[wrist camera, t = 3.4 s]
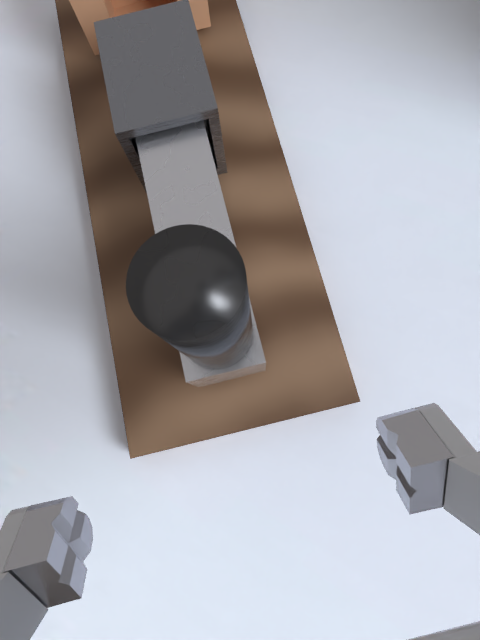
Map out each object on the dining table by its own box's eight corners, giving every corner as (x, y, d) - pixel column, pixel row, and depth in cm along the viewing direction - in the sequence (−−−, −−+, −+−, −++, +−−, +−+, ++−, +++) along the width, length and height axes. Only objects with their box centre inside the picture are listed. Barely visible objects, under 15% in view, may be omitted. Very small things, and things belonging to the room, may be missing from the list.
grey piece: (265, 370, 23) (268, 328, 11) (199, 387, 23) (131, 361, 11) (191, 83, 28) (139, -157, 16) (137, 97, 28) (45, -134, 16)
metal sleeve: (227, 172, 27) (218, 108, 21) (146, 192, 27) (114, 133, 21) (202, 80, 29) (188, -2, 23) (127, 99, 29) (93, 22, 23)
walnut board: (354, 401, 24) (360, 401, 23) (138, 456, 24) (130, 458, 23) (222, -29, 33) (220, -49, 32) (63, 11, 33) (54, -8, 32)
